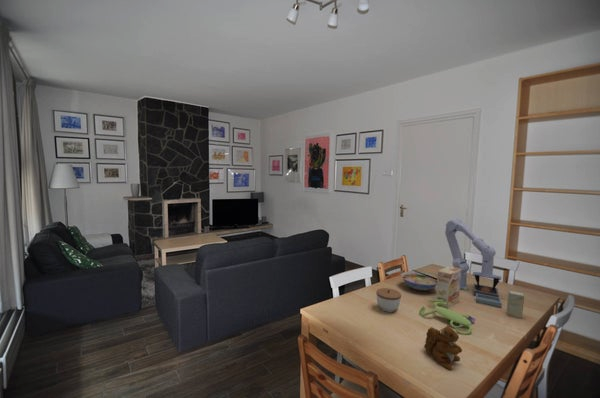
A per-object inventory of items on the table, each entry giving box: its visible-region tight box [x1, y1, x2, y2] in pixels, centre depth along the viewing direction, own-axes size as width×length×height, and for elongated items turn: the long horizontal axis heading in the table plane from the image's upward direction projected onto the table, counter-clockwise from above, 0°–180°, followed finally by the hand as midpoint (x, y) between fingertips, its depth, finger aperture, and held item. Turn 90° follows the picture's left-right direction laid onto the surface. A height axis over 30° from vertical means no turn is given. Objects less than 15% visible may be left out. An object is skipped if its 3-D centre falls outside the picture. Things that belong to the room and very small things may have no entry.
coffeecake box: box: [435, 265, 461, 309], centre depth 161 cm, size 15×7×20 cm, turn 129°
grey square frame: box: [472, 283, 500, 298], centre depth 175 cm, size 13×13×4 cm
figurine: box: [418, 298, 476, 336], centre depth 144 cm, size 18×27×6 cm
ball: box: [481, 285, 490, 293], centre depth 175 cm, size 5×5×5 cm
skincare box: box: [505, 290, 525, 319], centre depth 148 cm, size 6×4×12 cm
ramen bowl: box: [400, 269, 438, 292], centre depth 182 cm, size 25×23×8 cm
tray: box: [475, 293, 503, 309], centre depth 164 cm, size 12×9×2 cm
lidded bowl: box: [376, 287, 402, 313], centre depth 153 cm, size 13×13×11 cm
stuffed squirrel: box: [423, 324, 463, 371], centre depth 112 cm, size 10×14×13 cm
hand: (485, 289), depth 174 cm, fingers open, 7 cm apart
